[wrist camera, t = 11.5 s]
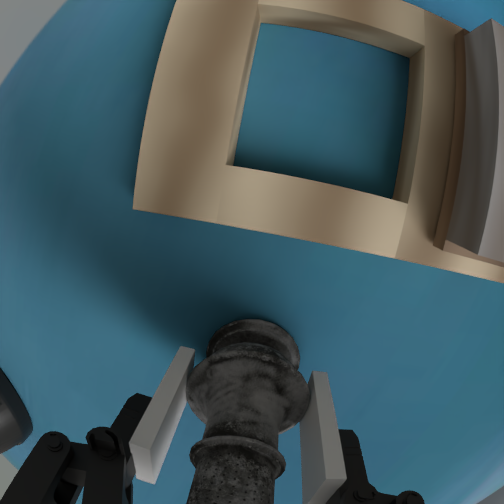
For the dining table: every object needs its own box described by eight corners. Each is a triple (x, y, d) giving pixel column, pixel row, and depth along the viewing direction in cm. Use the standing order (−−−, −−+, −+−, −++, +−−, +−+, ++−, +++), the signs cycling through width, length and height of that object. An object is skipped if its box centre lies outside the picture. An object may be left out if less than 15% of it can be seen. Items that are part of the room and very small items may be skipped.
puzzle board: (150, 204, 15) (132, 209, 13) (197, -13, 11) (188, -31, 9) (546, 288, 13) (561, 297, 12) (569, 127, 10) (585, 126, 8)
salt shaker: (223, 296, 15) (131, 517, 4) (324, 338, 15) (367, 554, 4) (188, 374, 17) (115, 548, 5) (276, 408, 17) (266, 585, 5)
